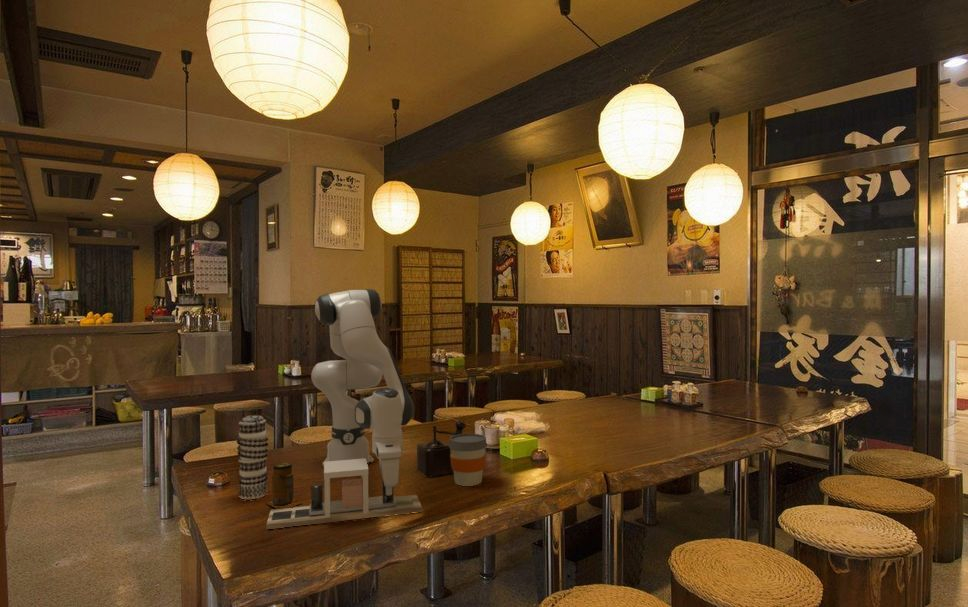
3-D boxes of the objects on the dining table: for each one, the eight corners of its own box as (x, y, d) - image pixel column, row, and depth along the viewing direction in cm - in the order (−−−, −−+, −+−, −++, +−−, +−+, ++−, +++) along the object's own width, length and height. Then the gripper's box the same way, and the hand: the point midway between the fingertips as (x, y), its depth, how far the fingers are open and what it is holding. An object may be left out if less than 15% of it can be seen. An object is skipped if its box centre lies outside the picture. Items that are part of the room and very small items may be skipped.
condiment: (288, 498, 173) (287, 459, 172) (302, 504, 167) (301, 465, 167) (265, 504, 167) (265, 465, 167) (279, 511, 161) (278, 470, 161)
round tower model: (232, 495, 175) (231, 417, 175) (261, 488, 181) (260, 412, 181) (244, 503, 168) (242, 421, 168) (273, 495, 175) (272, 416, 175)
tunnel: (325, 504, 163) (324, 461, 163) (366, 499, 166) (366, 458, 166) (324, 518, 152) (323, 472, 152) (369, 513, 156) (368, 468, 155)
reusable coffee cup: (466, 474, 194) (466, 431, 194) (494, 481, 186) (494, 436, 186) (441, 483, 184) (441, 438, 184) (470, 491, 177) (469, 444, 176)
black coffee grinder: (427, 478, 190) (426, 426, 190) (416, 470, 200) (415, 420, 200) (468, 472, 197) (467, 421, 197) (455, 463, 207) (455, 415, 206)
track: (270, 515, 159) (270, 509, 159) (416, 499, 170) (416, 494, 170) (266, 530, 148) (266, 524, 148) (422, 512, 160) (422, 507, 160)
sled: (310, 507, 160) (309, 482, 160) (393, 498, 166) (393, 474, 166) (309, 515, 153) (308, 490, 153) (396, 506, 160) (396, 481, 160)
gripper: (374, 437, 171) (374, 481, 172) (379, 454, 152) (379, 505, 152) (394, 435, 173) (395, 479, 173) (402, 453, 153) (402, 502, 153)
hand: (388, 491), depth 162 cm, fingers closed on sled, 3 cm apart
